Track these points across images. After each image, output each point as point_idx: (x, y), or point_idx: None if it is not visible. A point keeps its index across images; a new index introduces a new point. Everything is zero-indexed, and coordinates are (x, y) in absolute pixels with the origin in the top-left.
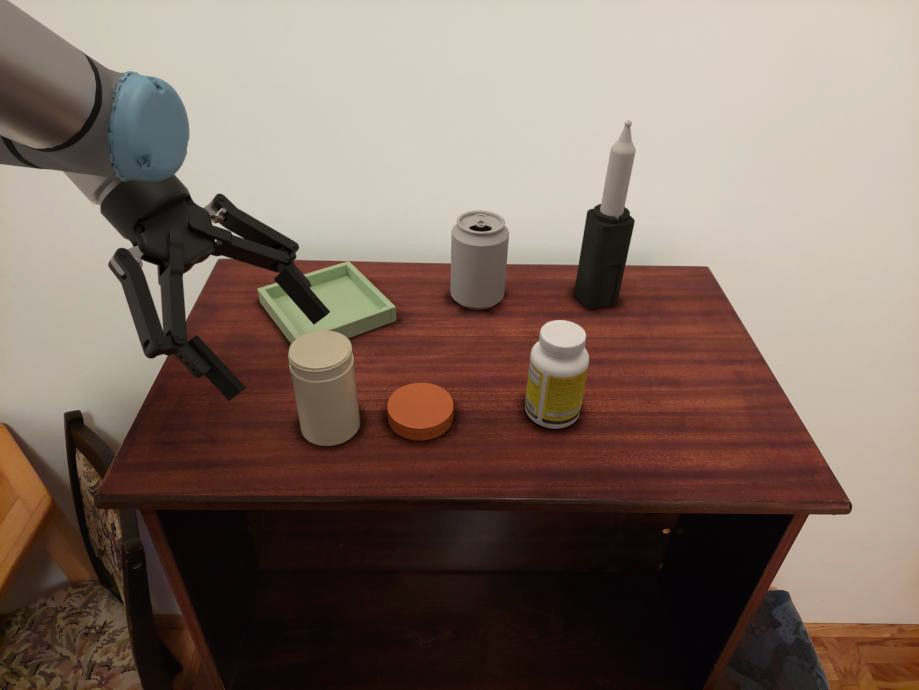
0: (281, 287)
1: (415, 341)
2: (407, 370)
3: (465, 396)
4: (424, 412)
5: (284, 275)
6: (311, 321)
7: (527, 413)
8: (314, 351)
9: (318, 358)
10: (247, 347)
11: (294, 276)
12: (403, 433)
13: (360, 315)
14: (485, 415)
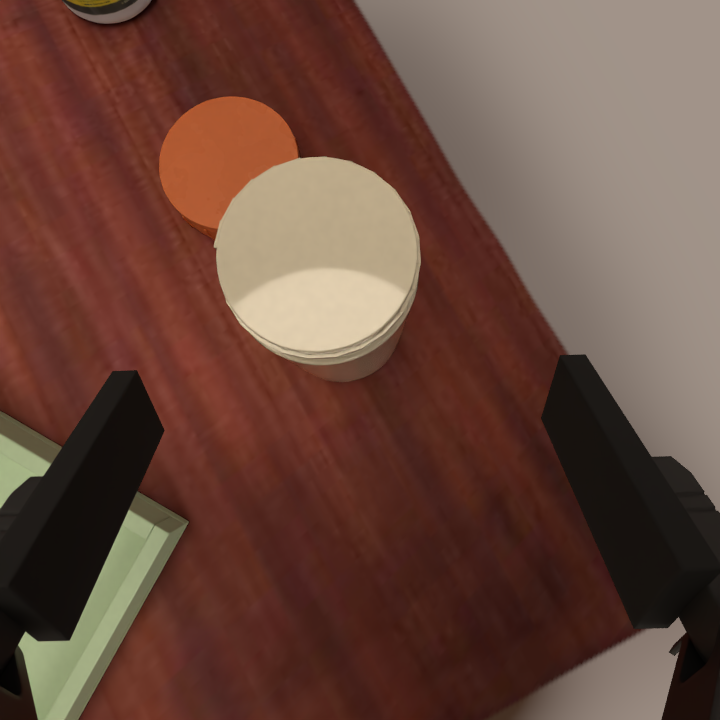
0: (92, 585)
1: (26, 313)
2: (125, 276)
3: (146, 135)
4: (245, 142)
5: (43, 583)
6: (159, 438)
7: (142, 4)
8: (337, 257)
9: (360, 224)
10: (220, 663)
11: (33, 528)
12: None
13: (3, 454)
14: (178, 79)
